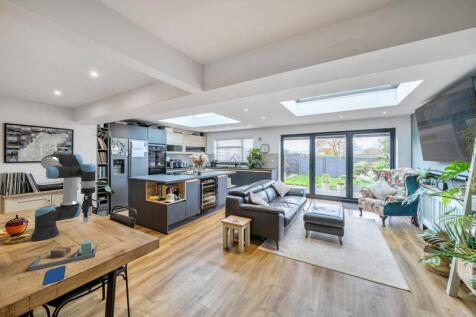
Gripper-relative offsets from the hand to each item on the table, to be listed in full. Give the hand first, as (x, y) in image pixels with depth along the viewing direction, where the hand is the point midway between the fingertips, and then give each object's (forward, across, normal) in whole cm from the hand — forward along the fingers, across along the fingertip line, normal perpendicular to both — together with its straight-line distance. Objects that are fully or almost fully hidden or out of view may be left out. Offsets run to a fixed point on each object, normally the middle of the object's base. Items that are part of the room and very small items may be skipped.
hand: (87, 219), depth 123 cm
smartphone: (+21, +26, -9) cm, 34 cm away
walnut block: (+19, +2, -14) cm, 24 cm away
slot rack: (+20, +7, -9) cm, 23 cm away
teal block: (+20, +5, 0) cm, 21 cm away
